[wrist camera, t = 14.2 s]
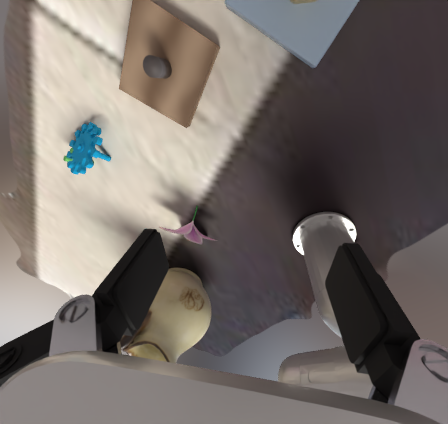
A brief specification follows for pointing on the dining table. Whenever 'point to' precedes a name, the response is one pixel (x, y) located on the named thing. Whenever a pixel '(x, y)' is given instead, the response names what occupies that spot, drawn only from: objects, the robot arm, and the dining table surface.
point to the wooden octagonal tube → (302, 1)
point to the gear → (84, 149)
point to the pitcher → (172, 319)
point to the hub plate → (297, 23)
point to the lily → (190, 232)
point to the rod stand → (165, 62)
